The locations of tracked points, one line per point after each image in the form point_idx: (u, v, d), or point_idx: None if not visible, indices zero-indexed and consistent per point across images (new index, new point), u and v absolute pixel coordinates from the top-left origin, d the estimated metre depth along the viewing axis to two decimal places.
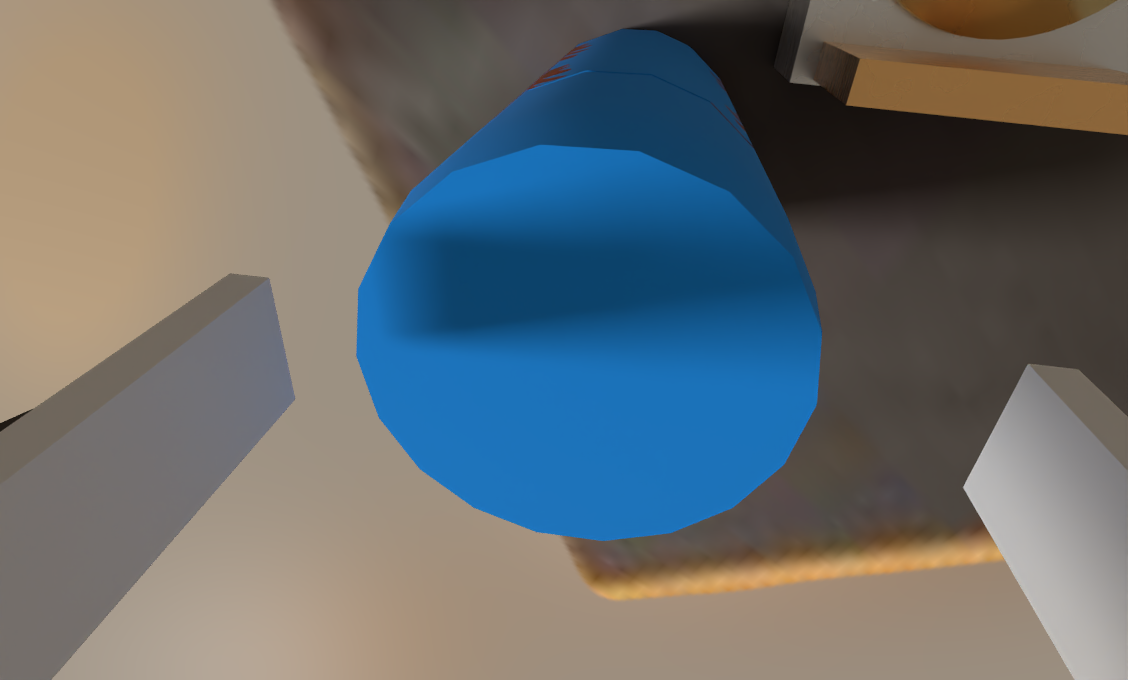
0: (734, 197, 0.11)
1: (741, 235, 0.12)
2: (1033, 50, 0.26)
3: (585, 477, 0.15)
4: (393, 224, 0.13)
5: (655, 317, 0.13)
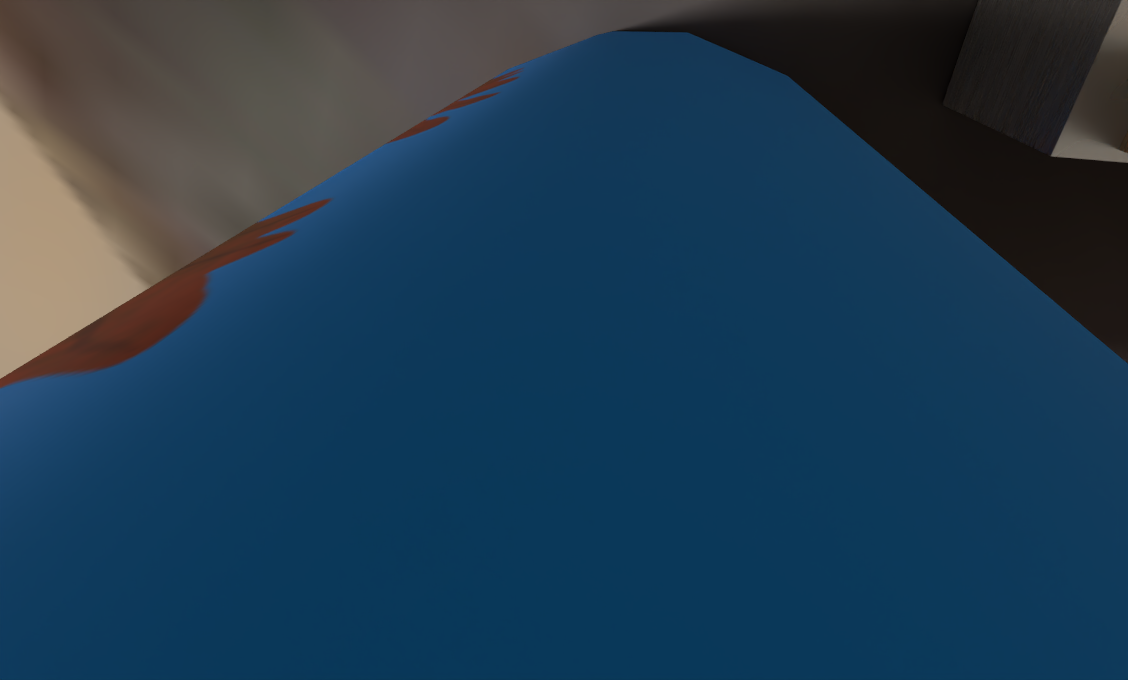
0: None
1: None
2: None
3: None
4: None
5: None
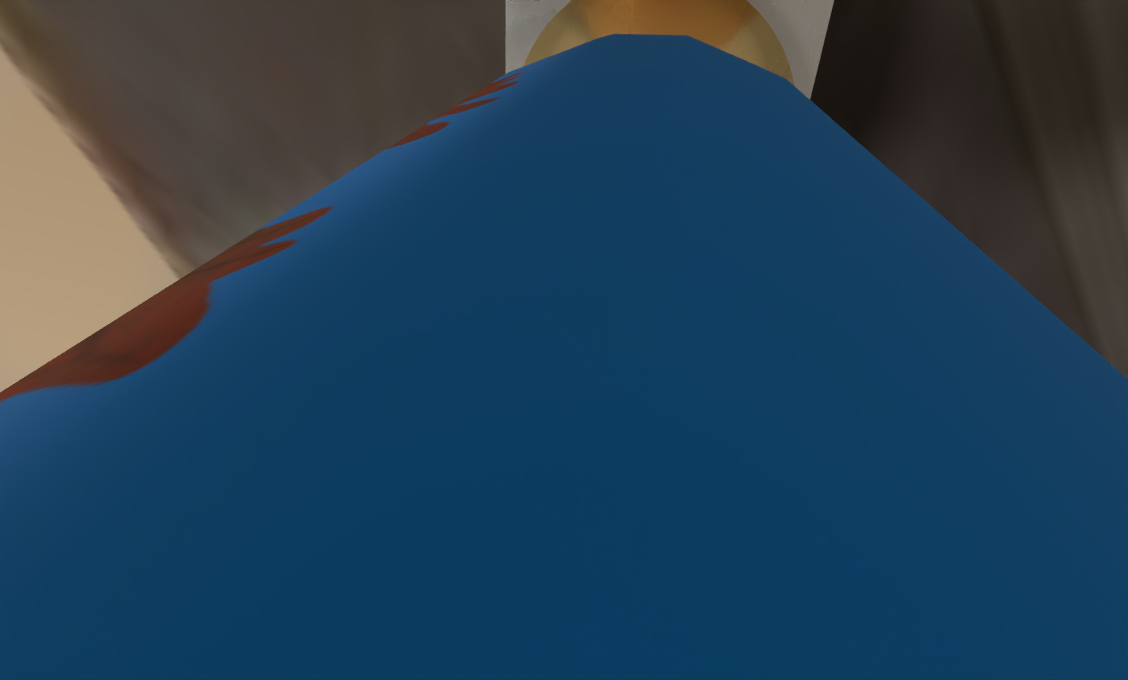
0: None
1: None
2: None
3: None
4: None
5: None
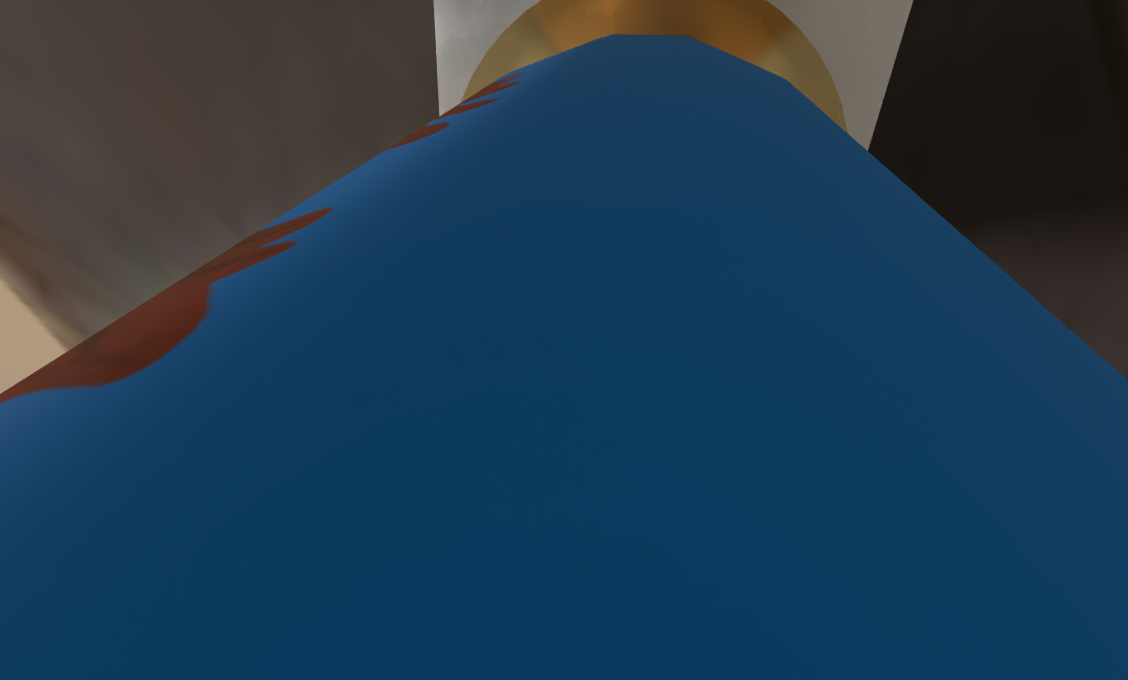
0: None
1: None
2: None
3: None
4: None
5: None
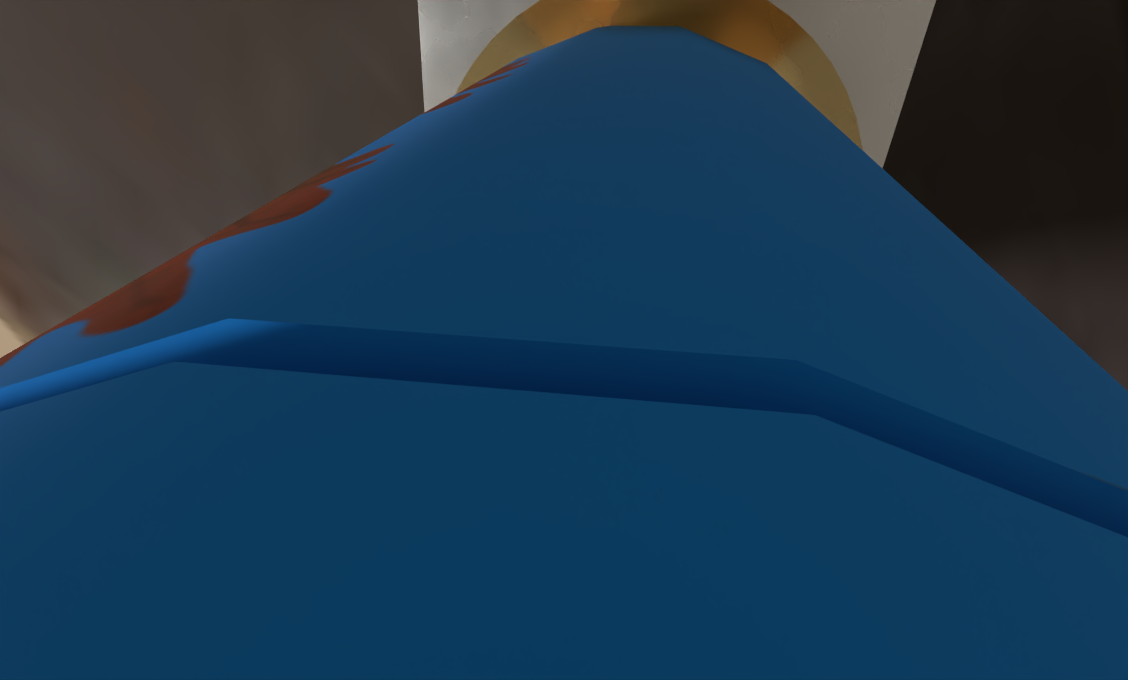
0: None
1: None
2: None
3: None
4: None
5: None
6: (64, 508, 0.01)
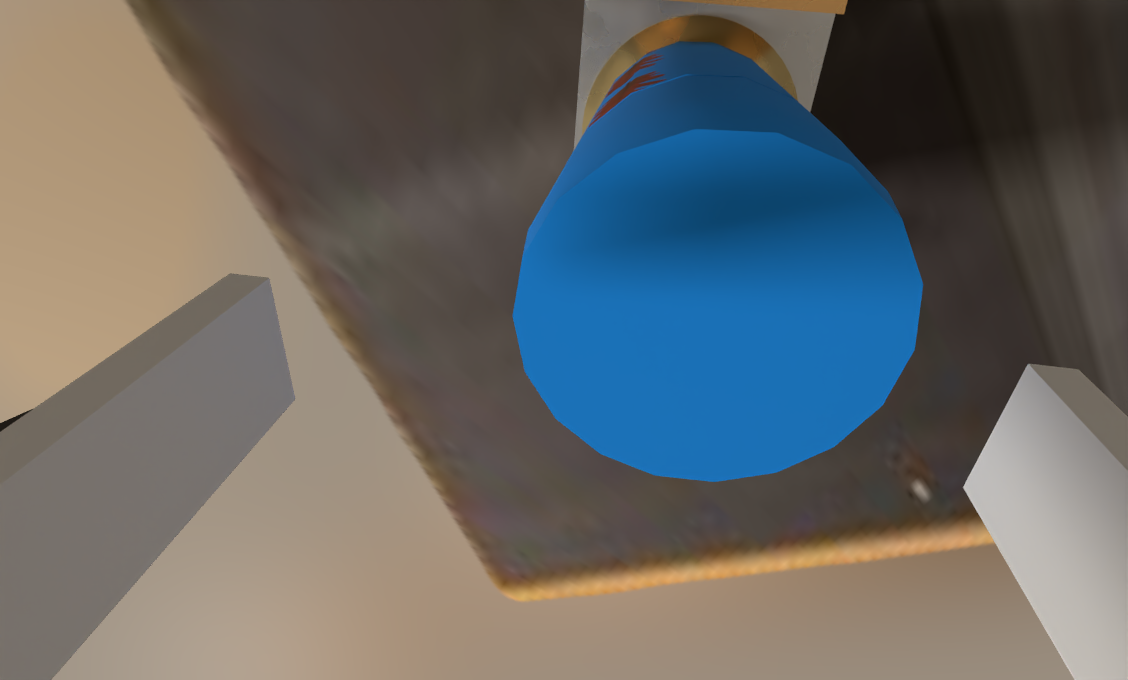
0: (855, 169, 0.14)
1: (859, 201, 0.14)
2: None
3: (704, 422, 0.18)
4: (560, 199, 0.15)
5: (779, 275, 0.15)
6: (691, 78, 0.20)
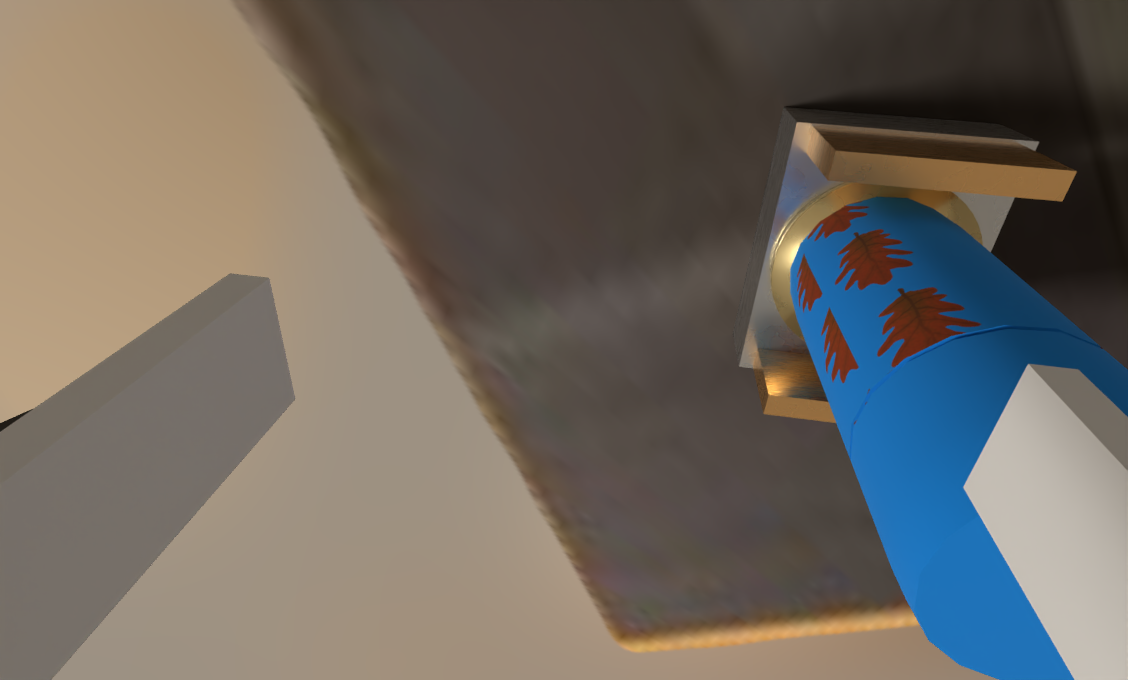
0: None
1: None
2: None
3: None
4: None
5: None
6: (1019, 336, 0.23)
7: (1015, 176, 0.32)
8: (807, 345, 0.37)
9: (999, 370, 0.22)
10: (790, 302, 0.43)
